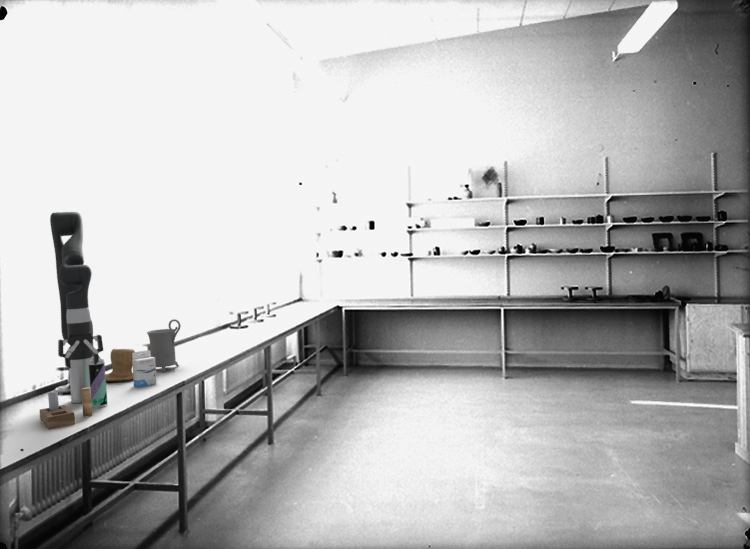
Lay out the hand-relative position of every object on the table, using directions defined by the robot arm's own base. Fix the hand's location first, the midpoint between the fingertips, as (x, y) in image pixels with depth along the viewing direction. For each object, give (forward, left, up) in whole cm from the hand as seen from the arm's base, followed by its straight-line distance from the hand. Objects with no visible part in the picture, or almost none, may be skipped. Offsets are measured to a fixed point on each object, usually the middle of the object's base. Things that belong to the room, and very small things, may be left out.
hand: (82, 366), depth 211 cm
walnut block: (0, -9, -18) cm, 20 cm away
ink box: (-37, +33, -19) cm, 53 cm away
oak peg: (-1, +1, -18) cm, 18 cm away
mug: (-65, +52, -19) cm, 85 cm away
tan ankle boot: (-57, +28, -19) cm, 66 cm away
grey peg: (-4, -9, -18) cm, 21 cm away
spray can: (-13, +8, -19) cm, 24 cm away
